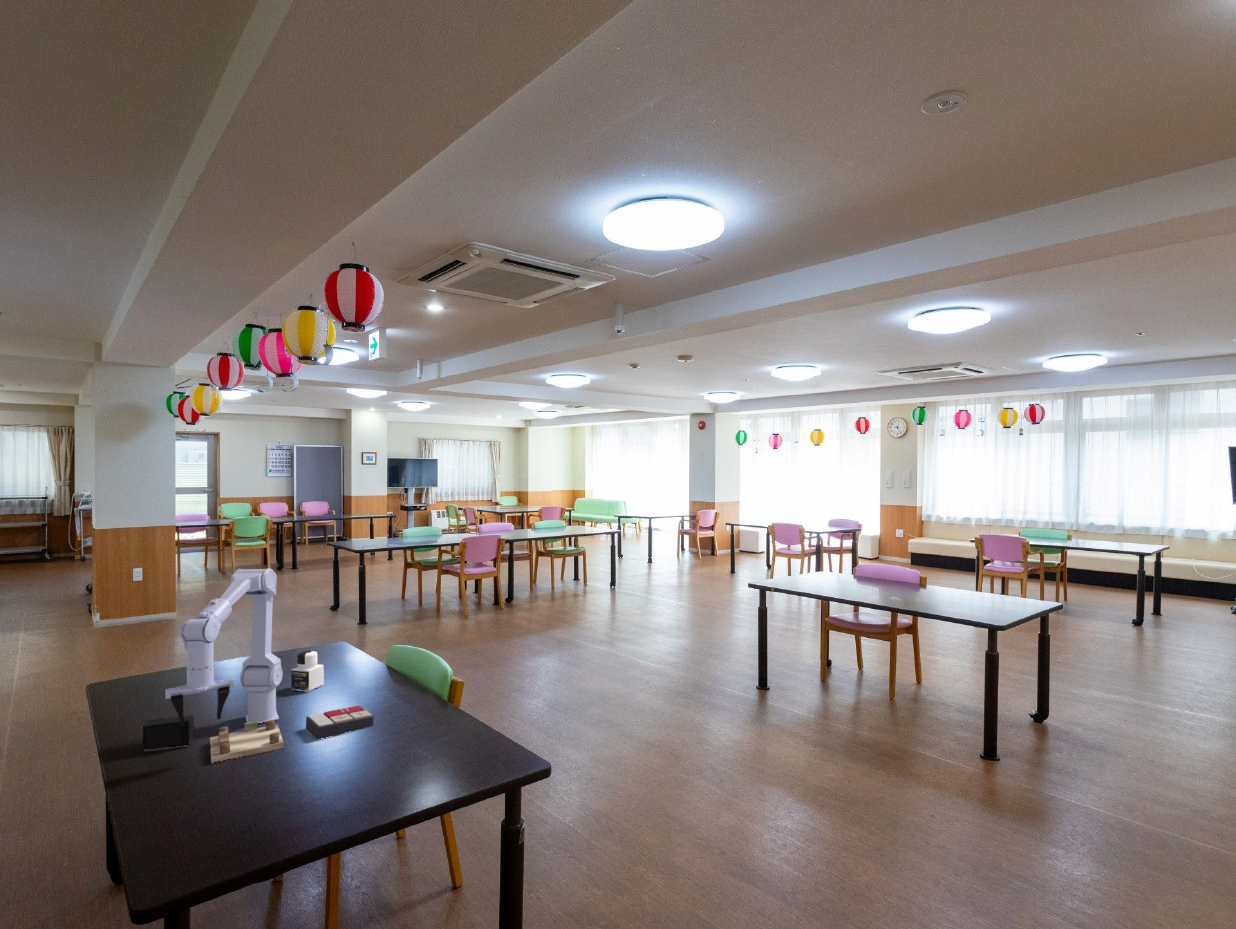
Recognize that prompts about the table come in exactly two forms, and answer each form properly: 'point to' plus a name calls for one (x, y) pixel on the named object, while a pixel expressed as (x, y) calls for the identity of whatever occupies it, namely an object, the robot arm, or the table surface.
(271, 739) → the stool seat
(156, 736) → the digital camera
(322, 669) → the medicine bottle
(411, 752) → the table surface
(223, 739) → the folding leg
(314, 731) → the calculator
